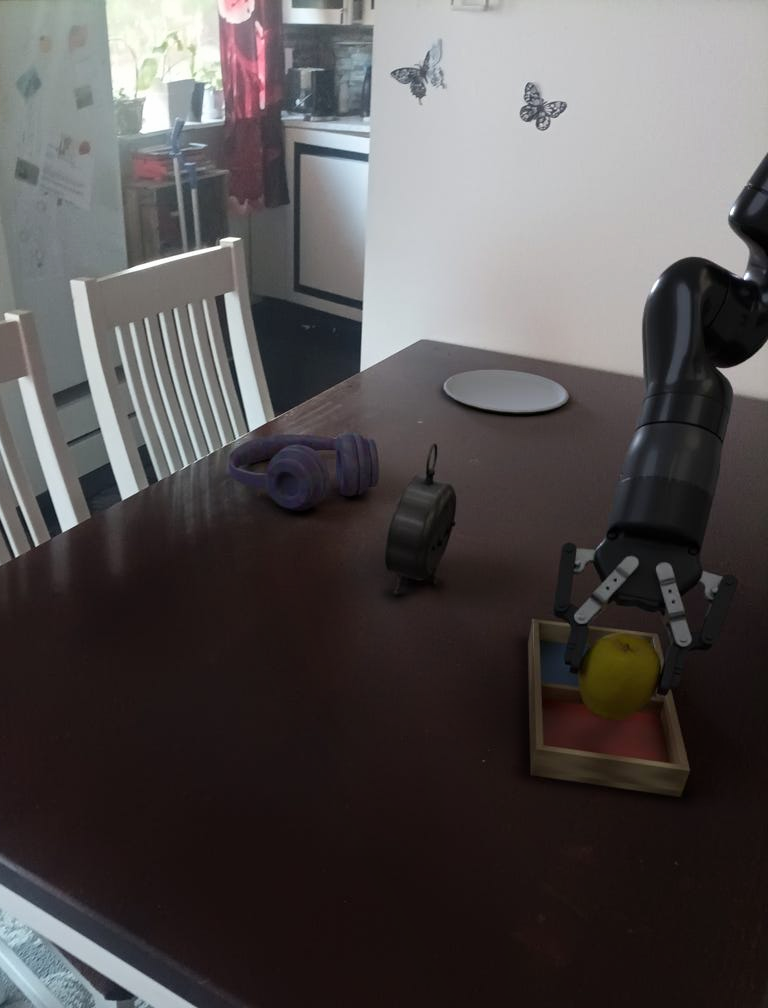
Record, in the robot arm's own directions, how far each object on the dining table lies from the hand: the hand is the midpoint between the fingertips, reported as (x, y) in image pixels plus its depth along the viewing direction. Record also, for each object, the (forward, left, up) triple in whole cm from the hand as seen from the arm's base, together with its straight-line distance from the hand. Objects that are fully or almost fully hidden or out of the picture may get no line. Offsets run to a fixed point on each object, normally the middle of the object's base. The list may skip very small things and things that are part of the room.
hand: (617, 682), depth 73 cm
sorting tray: (0, -6, -8) cm, 10 cm away
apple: (0, -2, -5) cm, 5 cm away
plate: (+9, -91, -8) cm, 92 cm away
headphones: (+36, -48, -8) cm, 61 cm away
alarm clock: (+18, -26, -8) cm, 33 cm away
